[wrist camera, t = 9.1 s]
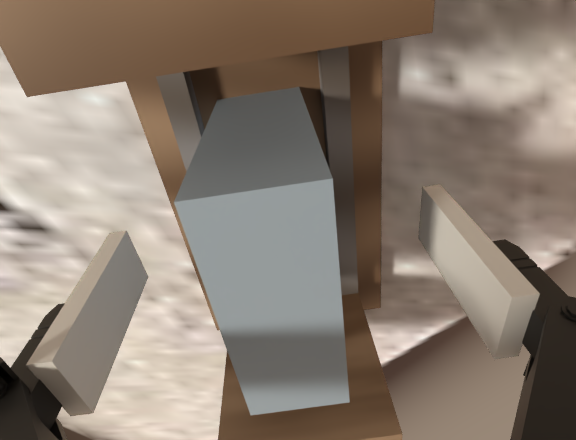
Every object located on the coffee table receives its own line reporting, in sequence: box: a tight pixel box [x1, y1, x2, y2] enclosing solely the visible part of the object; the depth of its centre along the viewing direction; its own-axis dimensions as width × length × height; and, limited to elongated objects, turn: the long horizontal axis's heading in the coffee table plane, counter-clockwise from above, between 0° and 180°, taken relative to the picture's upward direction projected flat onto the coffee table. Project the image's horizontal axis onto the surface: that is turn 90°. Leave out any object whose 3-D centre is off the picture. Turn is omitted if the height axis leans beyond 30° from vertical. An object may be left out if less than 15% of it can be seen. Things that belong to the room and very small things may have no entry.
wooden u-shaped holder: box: [0, 0, 435, 440], centre depth 16 cm, size 22×12×11 cm, turn 8°
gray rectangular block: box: [174, 87, 350, 415], centre depth 16 cm, size 10×4×10 cm, turn 8°
